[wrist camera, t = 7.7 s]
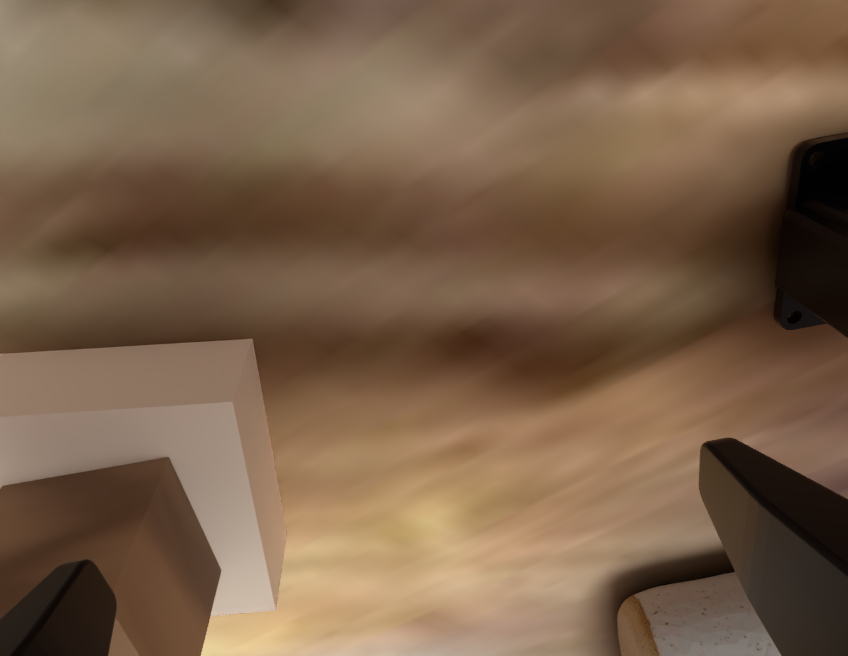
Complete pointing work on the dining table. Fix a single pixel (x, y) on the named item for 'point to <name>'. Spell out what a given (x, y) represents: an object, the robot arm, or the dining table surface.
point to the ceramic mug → (693, 621)
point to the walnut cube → (116, 550)
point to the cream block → (159, 441)
